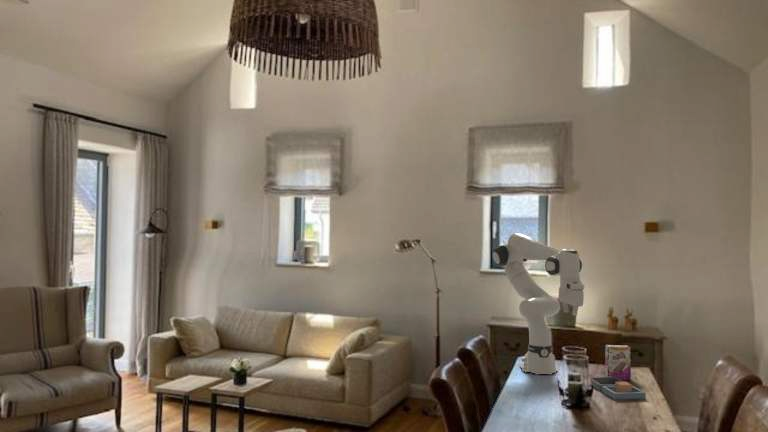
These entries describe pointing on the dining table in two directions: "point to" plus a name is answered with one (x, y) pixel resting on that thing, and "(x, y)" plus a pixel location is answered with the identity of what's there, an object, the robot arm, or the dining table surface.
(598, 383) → the charcoal bin
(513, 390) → the dining table surface
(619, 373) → the candy bar box
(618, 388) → the terracotta block
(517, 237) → the robot arm
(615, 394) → the slate tray
